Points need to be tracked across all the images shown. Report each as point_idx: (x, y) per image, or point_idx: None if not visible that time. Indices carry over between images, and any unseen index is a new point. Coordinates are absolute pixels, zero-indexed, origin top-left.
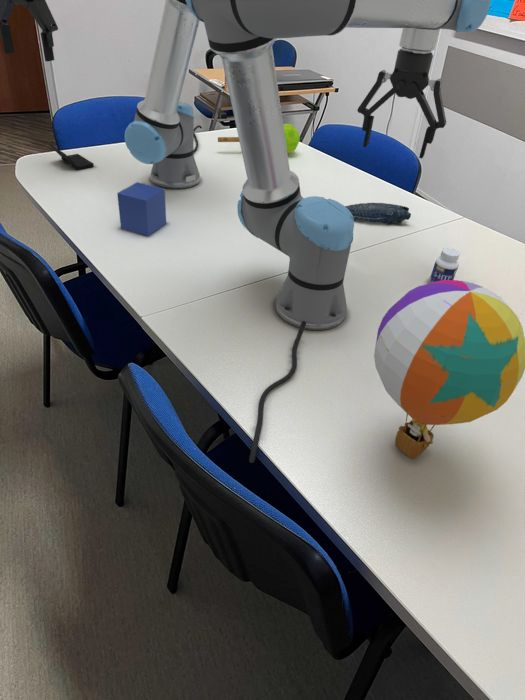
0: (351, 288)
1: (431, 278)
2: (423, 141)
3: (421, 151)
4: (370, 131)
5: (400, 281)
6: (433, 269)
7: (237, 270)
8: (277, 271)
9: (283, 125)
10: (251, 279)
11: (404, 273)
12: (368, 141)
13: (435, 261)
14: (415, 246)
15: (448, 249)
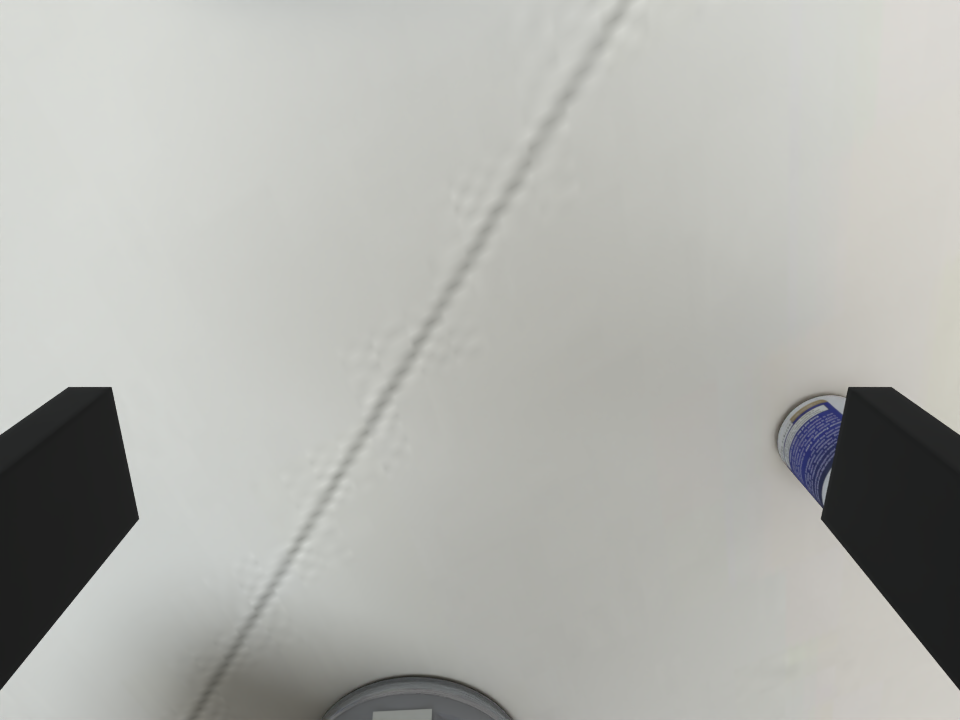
0: (497, 604)
1: (791, 469)
2: (951, 678)
3: (873, 570)
4: (4, 535)
5: (661, 480)
6: (805, 483)
7: (106, 677)
8: (222, 624)
9: None
10: (178, 700)
11: (670, 413)
12: (95, 456)
13: (821, 492)
14: (700, 110)
15: None
